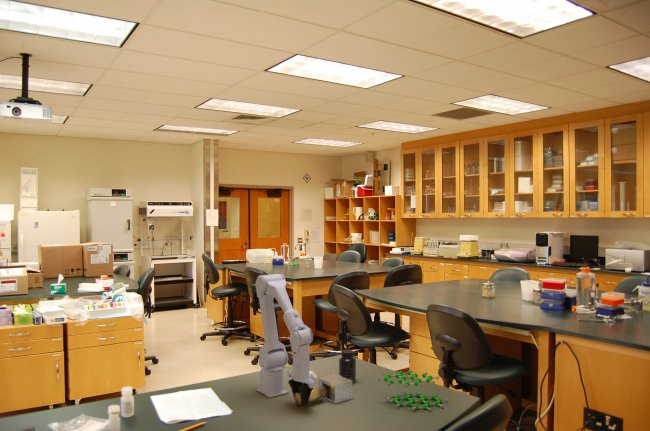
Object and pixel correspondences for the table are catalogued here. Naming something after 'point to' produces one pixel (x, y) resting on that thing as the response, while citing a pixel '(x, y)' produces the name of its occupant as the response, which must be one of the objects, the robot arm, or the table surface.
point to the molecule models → (411, 393)
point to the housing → (336, 387)
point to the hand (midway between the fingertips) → (301, 402)
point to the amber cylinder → (311, 395)
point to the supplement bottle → (347, 365)
